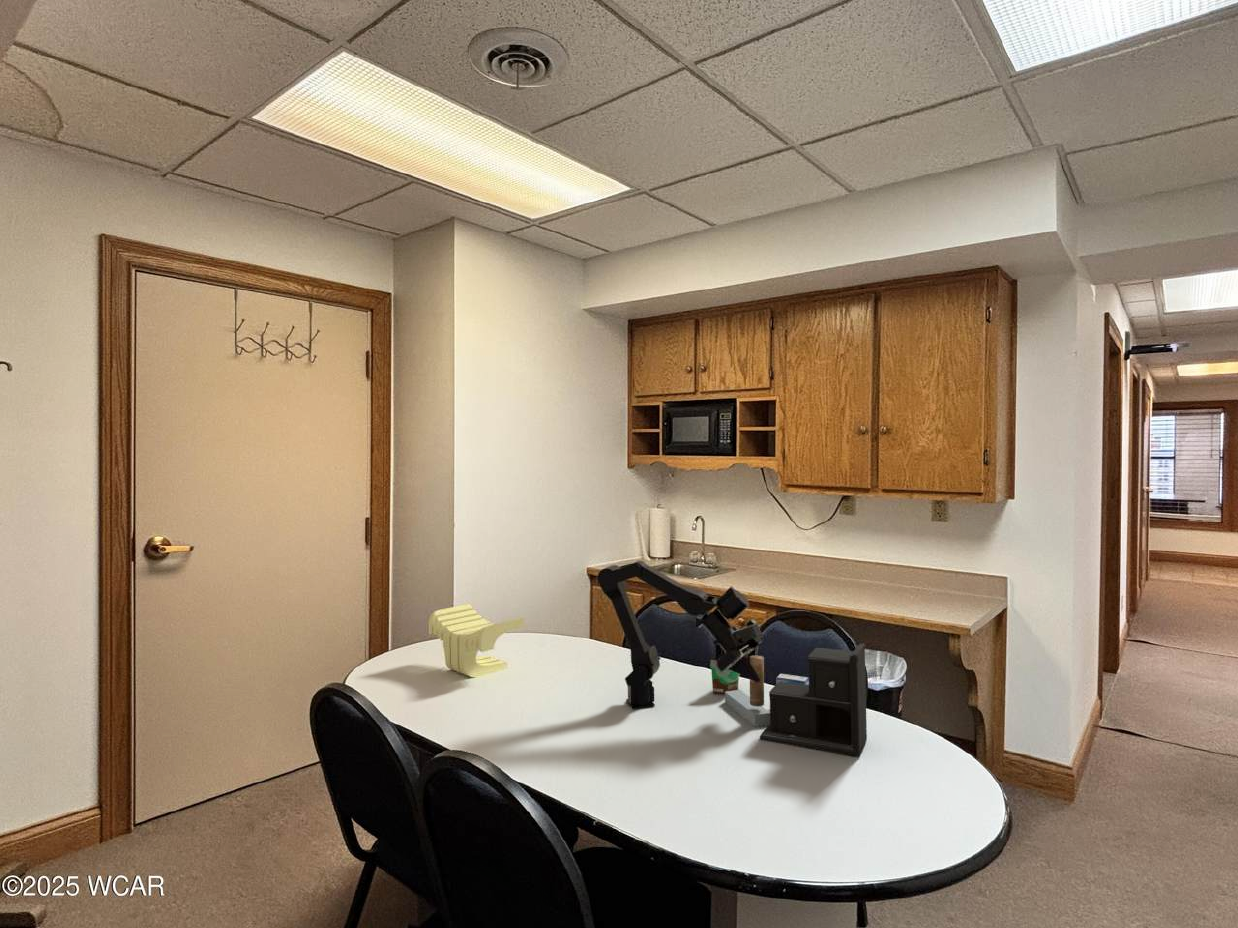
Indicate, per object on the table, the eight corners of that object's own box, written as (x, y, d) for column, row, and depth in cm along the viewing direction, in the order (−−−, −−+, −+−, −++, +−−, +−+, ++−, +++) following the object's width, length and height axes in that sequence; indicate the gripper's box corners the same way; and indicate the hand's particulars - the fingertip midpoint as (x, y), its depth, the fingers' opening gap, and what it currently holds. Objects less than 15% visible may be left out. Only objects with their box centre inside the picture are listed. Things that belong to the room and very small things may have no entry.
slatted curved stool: (429, 665, 234) (428, 611, 233) (470, 655, 245) (469, 603, 245) (482, 686, 213) (481, 627, 212) (524, 673, 224) (523, 617, 224)
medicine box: (776, 709, 191) (775, 677, 191) (780, 703, 195) (780, 672, 195) (805, 714, 187) (805, 681, 187) (809, 708, 191) (809, 676, 191)
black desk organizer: (758, 740, 171) (758, 643, 171) (771, 724, 181) (770, 632, 180) (859, 758, 160) (859, 655, 160) (867, 741, 170) (866, 643, 169)
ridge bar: (754, 726, 179) (754, 714, 179) (725, 702, 196) (724, 691, 196) (770, 724, 180) (770, 712, 180) (740, 700, 198) (739, 689, 198)
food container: (729, 699, 199) (729, 663, 199) (710, 694, 202) (709, 660, 202) (749, 687, 209) (749, 653, 208) (731, 683, 212) (730, 649, 212)
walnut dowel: (753, 706, 180) (753, 660, 180) (747, 702, 184) (747, 656, 183) (766, 705, 181) (766, 658, 181) (760, 700, 185) (759, 654, 184)
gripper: (727, 619, 176) (770, 670, 171) (755, 604, 192) (795, 651, 186) (698, 646, 181) (739, 697, 175) (728, 629, 196) (766, 676, 191)
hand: (761, 679), depth 182 cm, fingers closed on walnut dowel, 4 cm apart
